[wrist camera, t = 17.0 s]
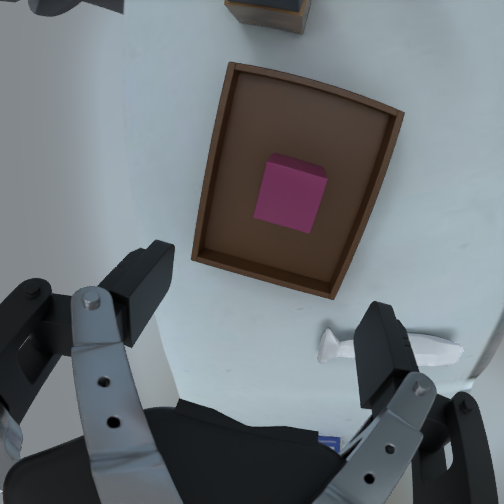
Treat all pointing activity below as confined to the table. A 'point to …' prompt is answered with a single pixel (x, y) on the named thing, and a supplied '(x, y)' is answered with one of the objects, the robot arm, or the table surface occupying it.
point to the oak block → (270, 16)
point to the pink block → (290, 192)
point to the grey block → (275, 3)
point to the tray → (299, 147)
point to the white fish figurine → (423, 346)
